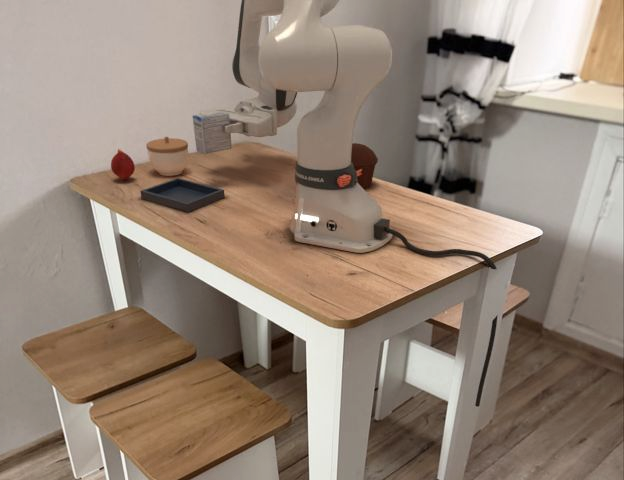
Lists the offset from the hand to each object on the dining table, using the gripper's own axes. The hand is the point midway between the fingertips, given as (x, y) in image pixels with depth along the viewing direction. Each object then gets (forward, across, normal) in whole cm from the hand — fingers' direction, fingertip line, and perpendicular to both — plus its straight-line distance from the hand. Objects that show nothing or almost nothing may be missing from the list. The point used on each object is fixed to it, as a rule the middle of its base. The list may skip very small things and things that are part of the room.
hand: (214, 128), depth 146 cm
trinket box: (0, -17, +14) cm, 22 cm away
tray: (+13, 0, +14) cm, 19 cm away
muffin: (-21, +28, +14) cm, 38 cm away
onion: (+12, -22, +14) cm, 29 cm away
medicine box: (0, 0, +6) cm, 6 cm away
